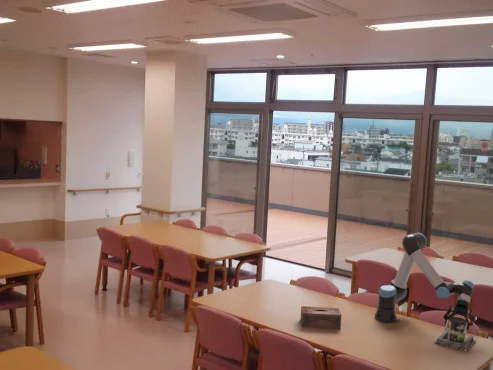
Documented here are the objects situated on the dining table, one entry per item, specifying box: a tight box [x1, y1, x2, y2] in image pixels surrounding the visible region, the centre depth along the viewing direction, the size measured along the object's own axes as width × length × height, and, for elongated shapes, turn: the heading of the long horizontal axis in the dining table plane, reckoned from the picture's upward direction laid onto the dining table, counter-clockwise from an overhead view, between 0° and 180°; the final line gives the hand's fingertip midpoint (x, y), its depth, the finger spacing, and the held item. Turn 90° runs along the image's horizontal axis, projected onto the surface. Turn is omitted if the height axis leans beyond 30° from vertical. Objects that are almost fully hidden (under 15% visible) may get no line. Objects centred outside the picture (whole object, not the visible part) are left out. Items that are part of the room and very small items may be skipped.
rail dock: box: [434, 328, 476, 352], centre depth 348 cm, size 20×22×4 cm
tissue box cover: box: [300, 305, 342, 330], centre depth 369 cm, size 26×14×10 cm, turn 89°
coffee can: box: [447, 316, 467, 344], centre depth 347 cm, size 10×10×14 cm
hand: (455, 331), depth 345 cm, fingers open, 11 cm apart
